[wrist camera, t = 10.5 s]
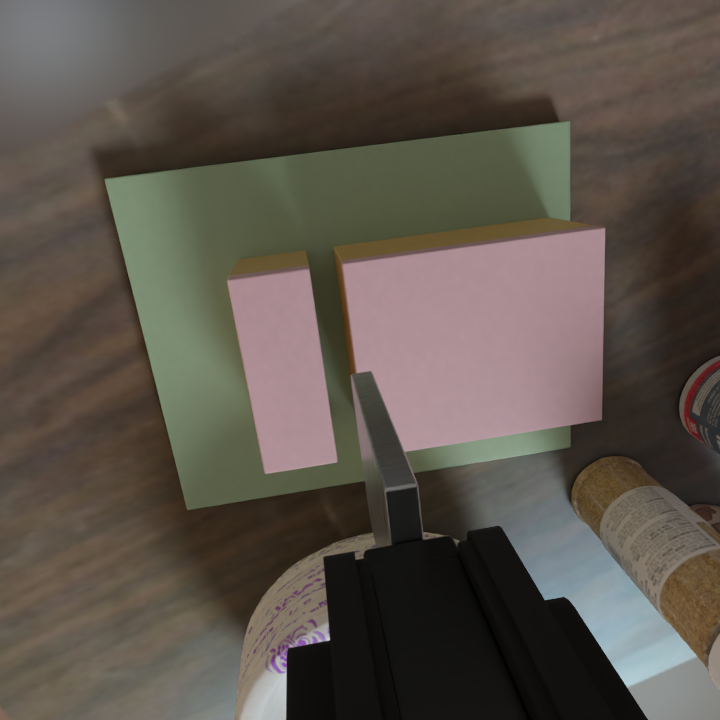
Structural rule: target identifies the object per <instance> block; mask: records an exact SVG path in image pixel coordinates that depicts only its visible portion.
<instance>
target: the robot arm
mask: <svg viewBox="0 0 720 720" xmlns="http://www.w3.org/2000/svg"><path fill="white" fill-rule="evenodd" d="M457 549H458V554H459V556H460V558H461V560H462V563H463V565H464V567H465V569H466V572H467V574H468V576H469V579H470V581H471V583H472V585H473V588H474V590H475V592H476V595H477V597H478V599H479V601H480V604H481V606H482V608H483V610H484V613H485V615H486V617H487V620H488V622H489V624H490V626H491V629H492V631H493V633H494V636H495V638H496V640H497V642H498V645H499V647H500V649H501V651H502V654H503V656H504V658H505V661H506V663H507V665H508V667H509V670H510V672H511V674H512V676H513V679H514V681H515V683H516V686H517V688H518V690H519V692H520V695H521V697H522V699H523V702H524V704H525V706H526V708H527V711H528V713H529V715H530V717H531V720H648V719H647V718H646V716H645V715H644V713H643V712H642V710H641V709H640V707H639V705H638V704H637V702H636V701H635V699H634V698H633V696H632V695H631V693H630V692H629V690H628V689H627V687H626V685H625V684H624V682H623V681H622V679H621V678H620V676H619V675H618V673H617V672H616V670H615V669H614V667H613V666H612V664H611V662H610V661H609V659H608V658H607V656H606V655H605V653H604V652H603V650H602V649H601V647H600V646H599V644H598V643H597V641H596V640H595V638H594V636H593V635H592V633H591V632H590V630H589V629H588V627H587V626H586V624H585V623H584V621H583V620H582V618H581V617H580V615H579V613H578V612H577V610H576V609H575V607H574V606H573V605H572V604H571V602H570V601H569V600H568V599H566V598H565V597H561V598H556V599H550V600H544V598H543V597H542V595H541V593H540V592H539V590H538V588H537V587H536V585H535V583H534V581H533V580H532V578H531V576H530V575H529V573H528V571H527V570H526V568H525V566H524V565H523V563H522V561H521V560H520V558H519V556H518V555H517V553H516V551H515V549H514V548H513V546H512V544H511V543H510V541H509V539H508V538H507V536H506V534H505V533H504V531H503V529H502V528H501V527H500V526H495V527H489V528H483V529H478V530H472V531H468V532H467V540H465V541H460V542H458V544H457ZM323 561H324V574H325V586H326V598H327V610H328V622H329V634H330V640H329V641H324V642H318V643H313V644H308V645H302V646H297V647H291V648H288V651H287V684H286V720H400V715H399V710H398V705H397V700H396V695H395V690H394V685H393V680H392V675H391V670H390V665H389V660H388V655H387V650H386V645H385V640H384V635H383V630H382V625H381V620H380V615H379V610H378V605H377V600H376V595H375V590H374V585H373V580H372V575H371V570H370V565H369V560H368V558H363V559H358V560H356V559H355V553H354V551H352V552H346V553H341V554H335V555H329V556H324V557H323Z"/></svg>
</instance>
